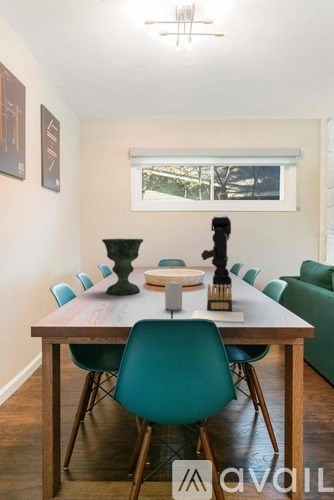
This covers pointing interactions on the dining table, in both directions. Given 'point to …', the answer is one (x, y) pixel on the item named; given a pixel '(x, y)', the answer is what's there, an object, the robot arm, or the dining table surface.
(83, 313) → the dining table surface
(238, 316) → the mat
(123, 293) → the goblet
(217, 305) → the ammunition clip
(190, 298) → the dining table surface
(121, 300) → the dining table surface
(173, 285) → the can
